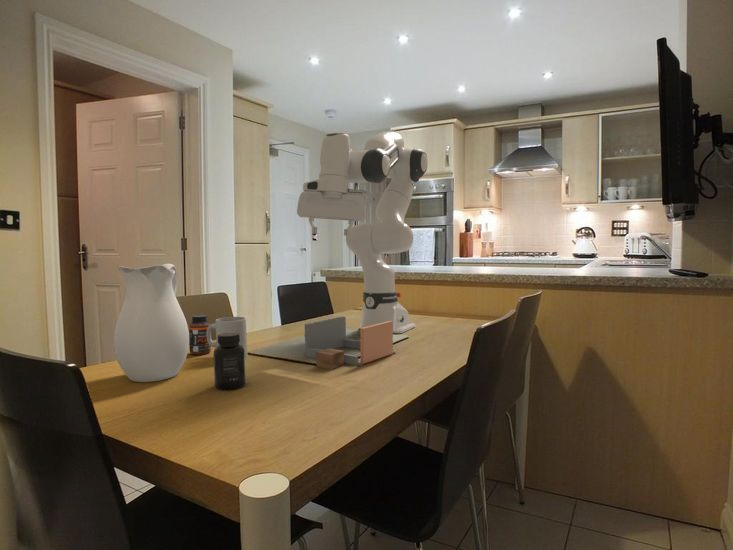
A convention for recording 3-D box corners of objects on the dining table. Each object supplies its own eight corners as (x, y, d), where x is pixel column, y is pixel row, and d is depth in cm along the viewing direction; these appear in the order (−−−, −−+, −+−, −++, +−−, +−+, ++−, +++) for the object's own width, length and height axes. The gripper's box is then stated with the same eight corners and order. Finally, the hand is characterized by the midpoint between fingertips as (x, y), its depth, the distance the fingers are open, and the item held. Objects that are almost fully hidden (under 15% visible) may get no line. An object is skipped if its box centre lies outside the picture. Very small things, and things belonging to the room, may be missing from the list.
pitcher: (173, 385, 109) (167, 265, 107) (101, 386, 110) (94, 266, 108) (209, 360, 133) (205, 260, 131) (150, 360, 134) (145, 261, 132)
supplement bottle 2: (251, 383, 111) (250, 332, 110) (234, 392, 104) (232, 338, 103) (227, 380, 113) (225, 330, 112) (208, 389, 106) (206, 336, 106)
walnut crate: (330, 367, 124) (329, 348, 124) (344, 370, 121) (344, 350, 121) (316, 371, 120) (316, 352, 120) (331, 374, 117) (330, 354, 117)
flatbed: (305, 359, 132) (304, 324, 131) (343, 349, 144) (342, 316, 144) (360, 370, 120) (359, 331, 119) (396, 357, 132) (395, 322, 132)
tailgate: (360, 363, 121) (360, 328, 121) (389, 353, 132) (389, 320, 131) (363, 363, 121) (363, 328, 120) (392, 353, 131) (392, 321, 130)
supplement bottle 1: (198, 356, 138) (197, 317, 137) (185, 354, 141) (183, 316, 140) (215, 352, 143) (213, 314, 142) (202, 350, 146) (200, 313, 145)
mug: (252, 353, 140) (251, 316, 139) (238, 361, 132) (236, 321, 131) (215, 352, 143) (214, 316, 142) (199, 359, 134) (198, 320, 134)
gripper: (367, 192, 144) (365, 237, 144) (300, 187, 143) (297, 233, 143) (368, 188, 137) (365, 235, 137) (298, 183, 137) (294, 231, 137)
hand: (330, 234), depth 140 cm, fingers open, 8 cm apart
